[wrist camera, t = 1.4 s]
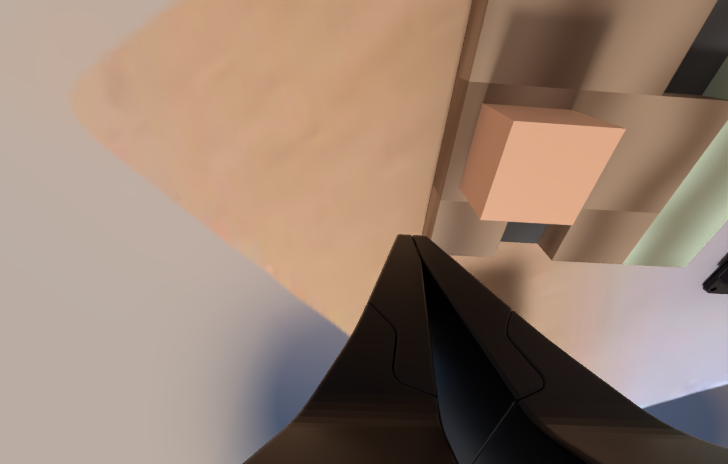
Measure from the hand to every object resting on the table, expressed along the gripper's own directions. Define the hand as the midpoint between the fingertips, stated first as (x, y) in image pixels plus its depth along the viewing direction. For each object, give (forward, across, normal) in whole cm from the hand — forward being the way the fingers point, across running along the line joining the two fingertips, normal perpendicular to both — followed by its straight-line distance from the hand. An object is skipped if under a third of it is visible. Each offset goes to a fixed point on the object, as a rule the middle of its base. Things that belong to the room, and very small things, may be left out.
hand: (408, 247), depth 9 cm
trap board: (+13, -14, 0) cm, 19 cm away
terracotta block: (+10, -7, 0) cm, 13 cm away
